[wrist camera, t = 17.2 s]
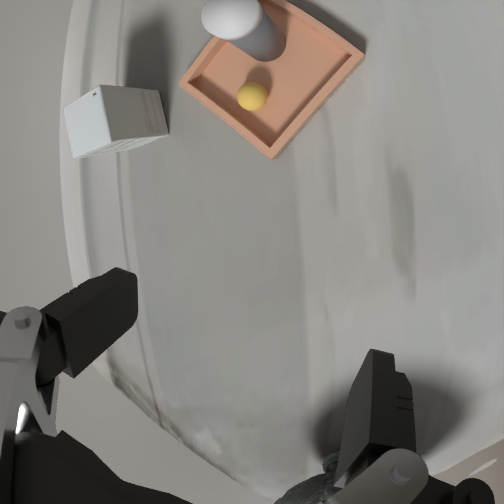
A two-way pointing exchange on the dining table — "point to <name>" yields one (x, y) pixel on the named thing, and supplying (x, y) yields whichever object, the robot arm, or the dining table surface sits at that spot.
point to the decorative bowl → (315, 485)
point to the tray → (274, 78)
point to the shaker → (244, 27)
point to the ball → (252, 96)
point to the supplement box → (114, 120)
